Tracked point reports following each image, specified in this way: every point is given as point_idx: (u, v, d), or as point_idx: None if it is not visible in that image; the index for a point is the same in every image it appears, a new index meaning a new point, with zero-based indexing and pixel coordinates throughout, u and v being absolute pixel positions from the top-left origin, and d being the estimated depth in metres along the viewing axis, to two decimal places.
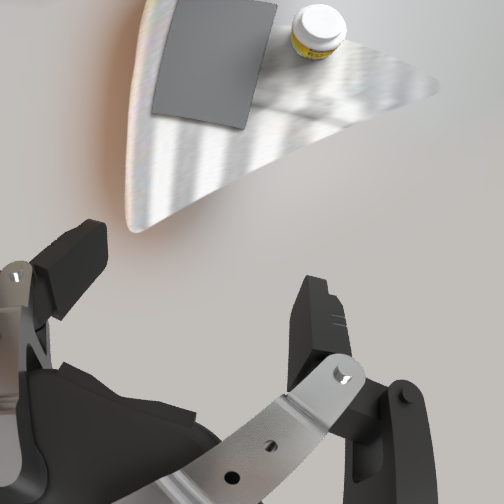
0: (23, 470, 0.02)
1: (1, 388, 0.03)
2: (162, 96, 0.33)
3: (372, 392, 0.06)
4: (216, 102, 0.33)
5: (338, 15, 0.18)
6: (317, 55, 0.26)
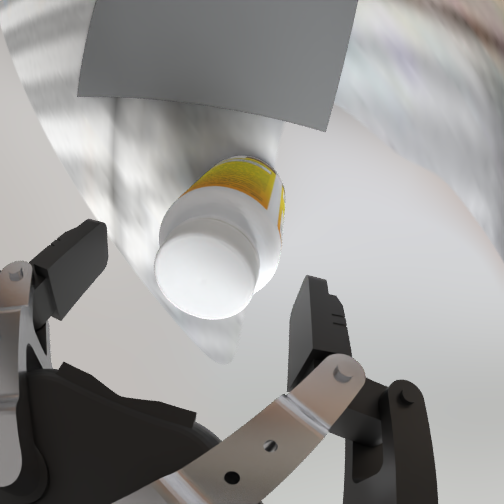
0: (23, 469, 0.02)
1: (1, 388, 0.03)
2: None
3: (372, 392, 0.06)
4: (113, 41, 0.14)
5: (226, 314, 0.11)
6: None
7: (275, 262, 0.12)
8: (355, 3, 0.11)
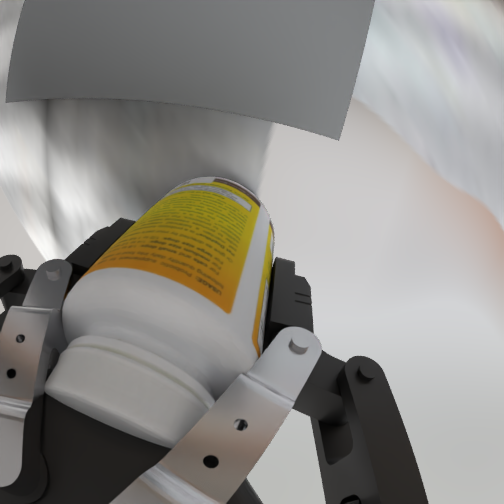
0: (21, 476, 0.02)
1: (14, 391, 0.03)
2: None
3: (331, 367, 0.07)
4: (43, 26, 0.08)
5: None
6: None
7: None
8: None
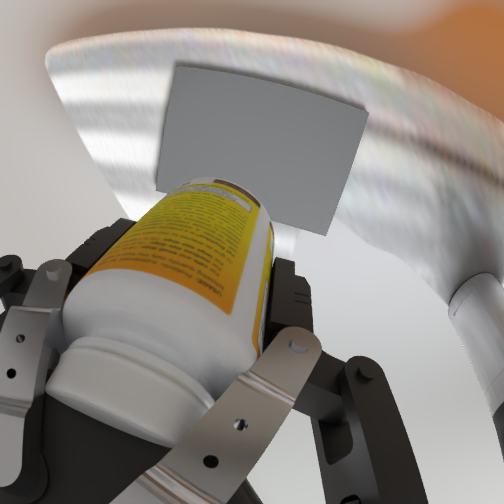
0: (21, 476, 0.02)
1: (15, 391, 0.03)
2: (198, 80, 0.22)
3: (331, 367, 0.07)
4: (186, 156, 0.26)
5: None
6: None
7: None
8: (355, 150, 0.24)
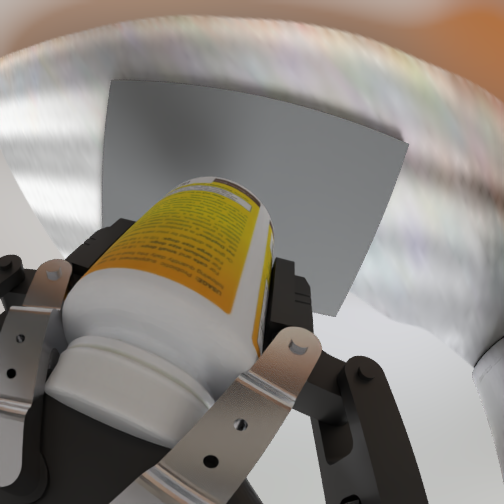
0: (21, 476, 0.02)
1: (15, 391, 0.03)
2: (140, 99, 0.14)
3: (331, 367, 0.07)
4: (134, 214, 0.18)
5: None
6: None
7: None
8: (386, 202, 0.16)
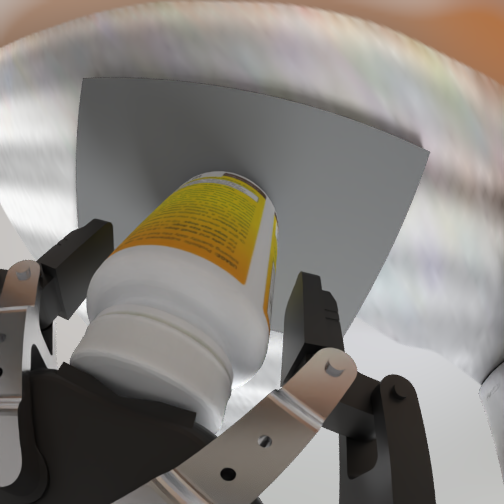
0: (23, 471, 0.02)
1: (4, 388, 0.03)
2: (114, 100, 0.12)
3: (364, 387, 0.07)
4: None
5: None
6: None
7: (259, 362, 0.07)
8: (402, 220, 0.13)
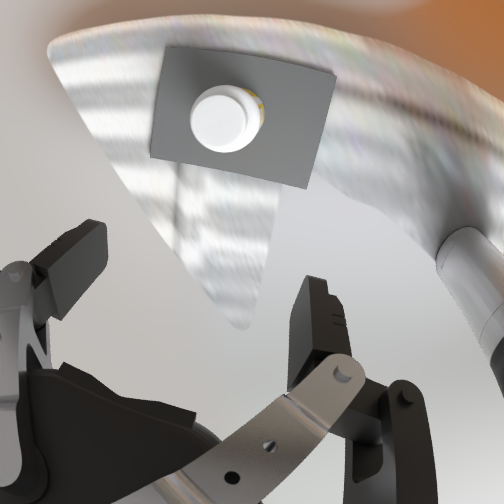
0: (23, 470, 0.02)
1: (1, 388, 0.03)
2: (185, 58, 0.24)
3: (372, 392, 0.06)
4: (176, 124, 0.28)
5: (230, 141, 0.19)
6: None
7: (257, 122, 0.20)
8: (327, 109, 0.26)
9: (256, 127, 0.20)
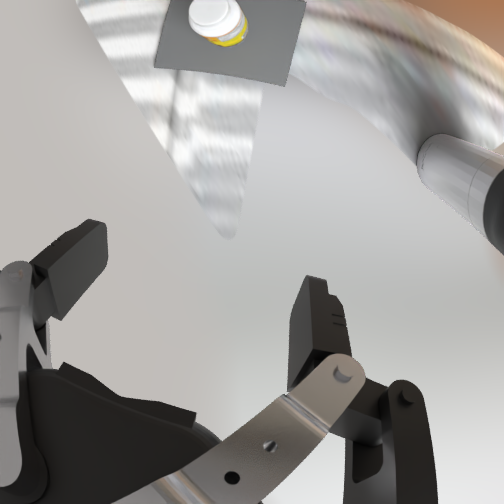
0: (23, 469, 0.02)
1: (1, 388, 0.03)
2: None
3: (372, 392, 0.06)
4: (178, 40, 0.29)
5: (216, 19, 0.20)
6: None
7: (238, 14, 0.21)
8: (299, 24, 0.27)
9: (237, 17, 0.21)
